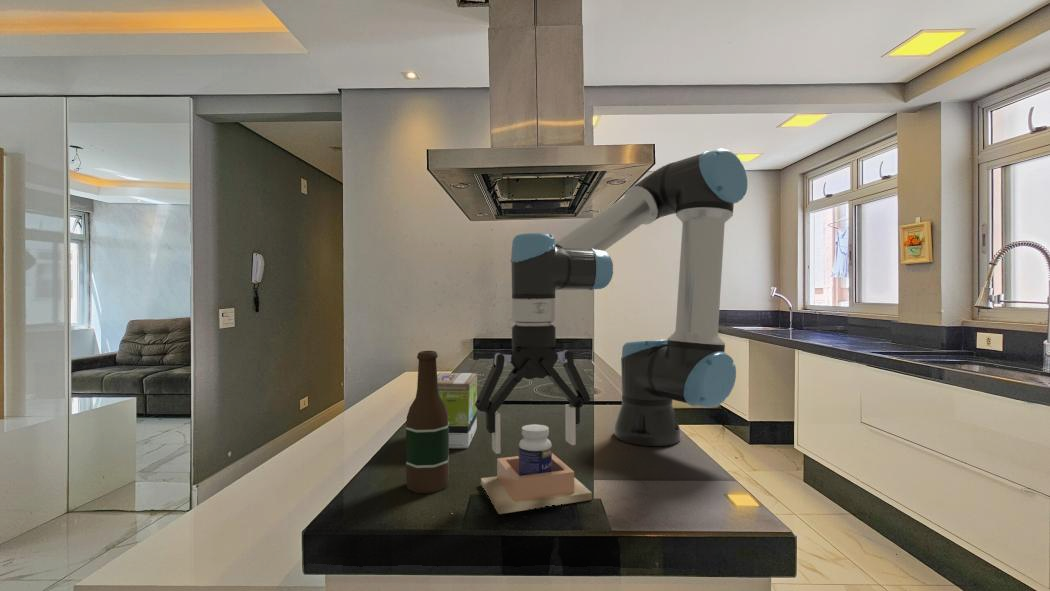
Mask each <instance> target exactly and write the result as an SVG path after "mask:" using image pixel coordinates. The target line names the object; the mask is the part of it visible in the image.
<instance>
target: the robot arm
mask: <svg viewBox="0 0 1050 591" xmlns="http://www.w3.org/2000/svg"><path fill="white" fill-rule="evenodd" d="M747 192H748V177H747V172H746V169H745V166H744V164H742V162H741V160H740V158H739V157H738V156H737V154H735V153H734V152H733V151H731V150H728V149H725V148H718V149H713V150H708V151H703V152H702V153H700V154H695V155H694V156H690V157H686V158H682V159H680V160H677V161H674V162H669V163H667V164H666V165H662V166H661V167H659V168H657V169H656V170H654V171H653V172H652V173H650V174H648V175H647V176H646V177H644V178H643V179H641V180H640V181H638V182H637V183H636V184H634V185H632V186H631V187H629V188H628V189H627V190H626V191H625V193H624V196H623V197H622V198H620V199H619V200H618V201H616V202H615V203H613V204H611V205H609V207H607V208H605V209H604V210H602V211H600V212H599V213H598V214H596V215H595V216H593V217H591V218H590V219H588V220H587V221H586V222H584V223H582V224H580V226H578V227H576V228H575V229H573V230H572V231H570V232H569V233H567V234H566V235H564V236H563V237H561V238H559V239H557V241H556V238H555V236H554V235H553V234H551V233H544V232H530V233H529V232H527V233H521V234H517V235H516V236H515V237H513V239H512V244H511V254H510V255H511V256H510V263H511V298H512V299H511V321H512V322H513V323H515V324H514V325H513V326H512V327H511V352H510V354H505V353H504V354H502V353H500V352H495V353H494V354H493V360H492V367H491V369H490V371H489V372H488V375H487V378H486V380H485V381H484V384H483V386H482V387H481V390H480V393H479V394H478V395H477V401H476V403H475V406H476V408H477V411H478V410H479V412H484V413H485V417H486V418H485V419H486V420H485V421H486V422H485V423H486V424H485V428H486V431H487V432H488V433H489V434H491V449H492V451H493V453H494V454H496V455H499V454H501V450H502V449H501V413H500V412H498V409H500V407H501V406H502V404H503V403H504V402H505V400H506V399H508V396H510V394H511V393H512V391H513V390H514V389H515V387H517V385H518V384H519V383H520V382H521V381H522V380H523V378H524V379H526V380H533V379H545V377H547V378H548V379H549V380H550V381H551V382H552V383H553V384H554V386H555V387H556V388H557V389H558V391H560V393H561V394H562V395H563V396H564V397H565V398H566V400H567V401H568V402H569V404H564V408H565V409H564V411H565V413H564V415H565V419H564V420H565V422H564V423H565V442H567V443H568V444H569V445H571V446H576V445H577V444H576V441H577V439H576V438H577V434H576V433H577V432H576V429H577V428H576V427H577V426H576V425H579V424H580V422H581V408H582V407H583V405H584V404H585V403H589V402H590V400H591V396H590V394H589V392H588V390H587V388H586V386H585V384H584V381H583V380H582V378H581V376H580V373H579V371H578V369H577V366H576V365H575V361H574V354H573V351H571V350H567V349H562V350H561V351H557V350H556V343H557V342H556V338H557V337H556V326H555V325H554V324H553V323H555V322H556V290H557V291H563V290H564V291H570V290H574V291H575V290H576V291H577V290H578V291H579V290H580V291H581V290H583V291H584V290H588V291H594V290H602V289H605V288H606V287H607V286H608V285H609V284H610V282H612V279H613V275H614V263H613V262H614V261H613V259H612V258H611V256H610V254H609V253H608V252H606V250H608V249H609V248H611V247H612V246H613V245H614V244H616V243H617V242H619V241H621V240H622V239H623V238H624V237H626V236H627V235H629V234H630V233H632V232H634V231H635V230H636V229H637V228H639V227H640V226H642V225H650V224H652V223H654V222H655V221H656V220H658V219H660V218H664V217H667V216H669V215H675V216H676V218H677V219H678V220H679V221H681V224H682V227H681V228H682V229H681V242H680V243H681V244H680V257H679V258H680V259H679V272H678V287H677V288H678V289H677V302H676V304H677V306H676V314H675V315H676V319H675V331H674V332H673V333H672V334H671V335H670V336H668V337H667V338H666V339H654V340H653V339H652V340H641V341H640V340H638V341H628V342H625V343H624V344H623V346H622V348H621V349H622V352H621V357H620V362H621V405H620V409H619V412H618V414H617V418H616V421H615V424H614V436H615V438H616V439H618V441H619V440H620V441H621V442H625V443H626V444H632V445H637V446H645V447H667V446H670V445H675V444H677V443H679V442H680V440H681V428H680V425H679V423H678V418H677V417H676V416H677V415H676V413H675V409H674V407H673V406H674V405H673V401H677V402H681V403H684V404H688V405H690V406H691V407H702V408H709V409H710V408H714V407H717V406H719V405H721V404H722V403H724V402H725V401H726V399H727V398H728V397H729V396H730V395H731V393H732V391H733V389H734V387H735V383H736V378H737V367H736V364H735V363H734V360H733V358H732V356H730V355H729V354H727V353H726V351H725V350H726V343H725V342H724V340H722V338H721V337H720V336H719V324H720V323H719V322H720V303H721V288H722V287H721V286H722V272H723V260H724V259H723V255H724V243H725V242H724V241H725V240H724V239H725V225H726V222H728V221H729V220H730V219H731V218H732V217H733V216H734V204H737V203H739V202H740V201H742V200H743V198H744V197H745V196H746V194H747ZM557 361H559V362H560V363H561V364H562V365H563V368H564V369H565V370H564V371H565V372H566V374H567V375H566V376H568V379H569V380H570V381H569V382H570V383H571V385H572V387H573V389H574V391H575V392H574V391H573V390H572V389H571V388H570V387H569V385H568V384H567V383H566V382H565V381H564V380H563V378H562V377H561V376H560V373H559V372H558V371H557V370H556V368H554V366H555V364H556V363H557ZM509 362H510V364H511V365H512V367H513V368H512V369H511V371H510V372H509V373H508V376H507V377H506V379H505V380H504V382H503V383H502V384H501V386H500V387H499V388H498V389H497V390H496V392H495V393H494V390H495V389H496V387H497V384H498V381H499V380H500V378H501V376H502V373H503V370H504V368H505V367H507V365H508V364H509ZM493 393H494V394H493ZM575 393H576V394H575ZM492 394H493V396H492ZM490 398H491V399H490Z"/></svg>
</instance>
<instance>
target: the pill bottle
mask: <svg viewBox="0 0 1050 591" xmlns="http://www.w3.org/2000/svg"><path fill="white" fill-rule="evenodd" d="M549 434H550V428H549V427H548V426H547V425H544V424H526V425H523V426H522V427H521V435H522V437H523V438H522V439H520V441H519V443H518V456H519V476H525V475H532V474H540V473H547V472H552V453H553V452H552V449H553V448H552V442H551V440H550V439H548V436H549Z"/></svg>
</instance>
